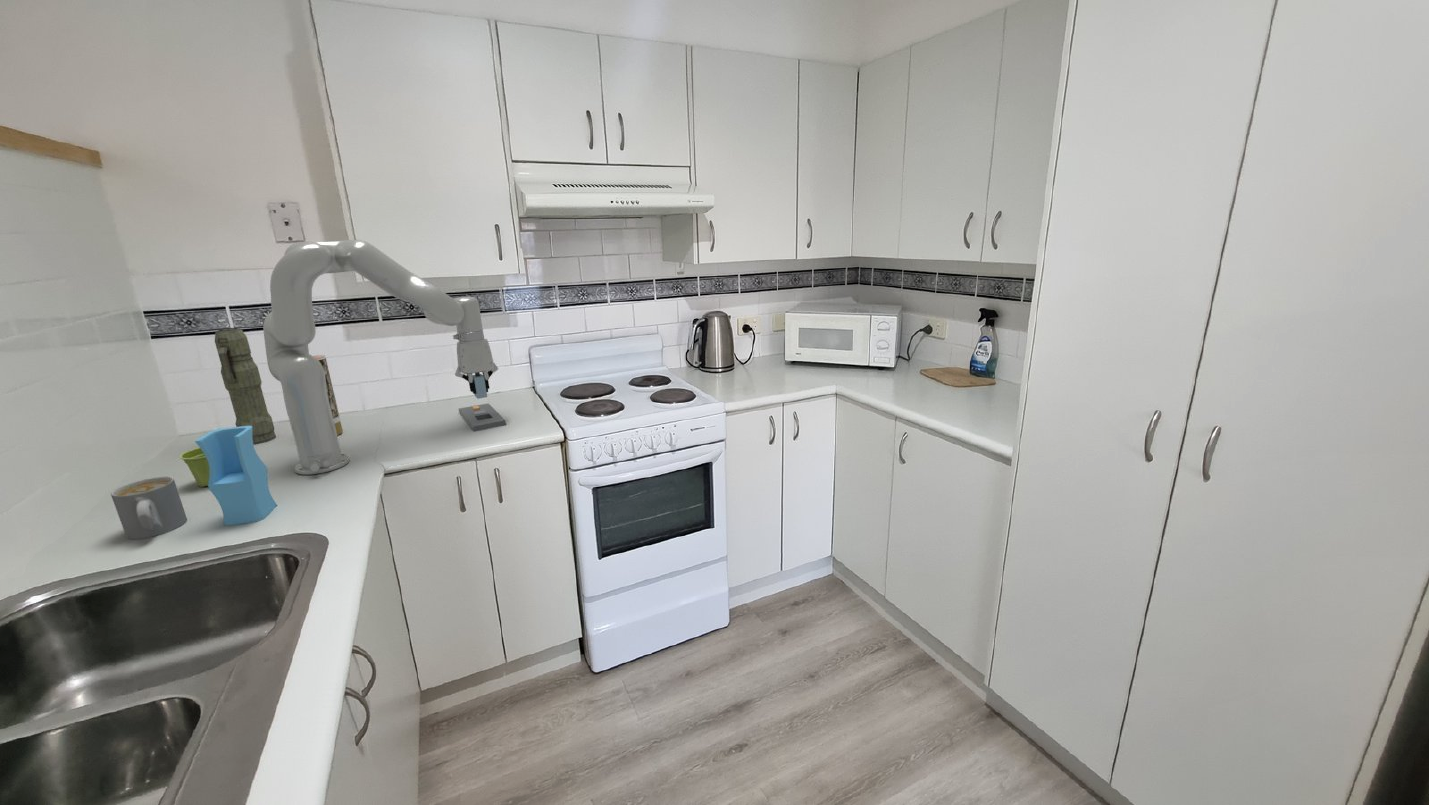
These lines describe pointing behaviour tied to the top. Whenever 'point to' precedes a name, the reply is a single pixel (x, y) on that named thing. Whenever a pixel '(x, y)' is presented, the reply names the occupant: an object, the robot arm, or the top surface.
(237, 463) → the blue toy armchair
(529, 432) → the top surface
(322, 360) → the paper tube
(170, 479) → the coffee mug
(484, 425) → the plate
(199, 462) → the plant pot
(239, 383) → the olive-green tall carved figure
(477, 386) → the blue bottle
